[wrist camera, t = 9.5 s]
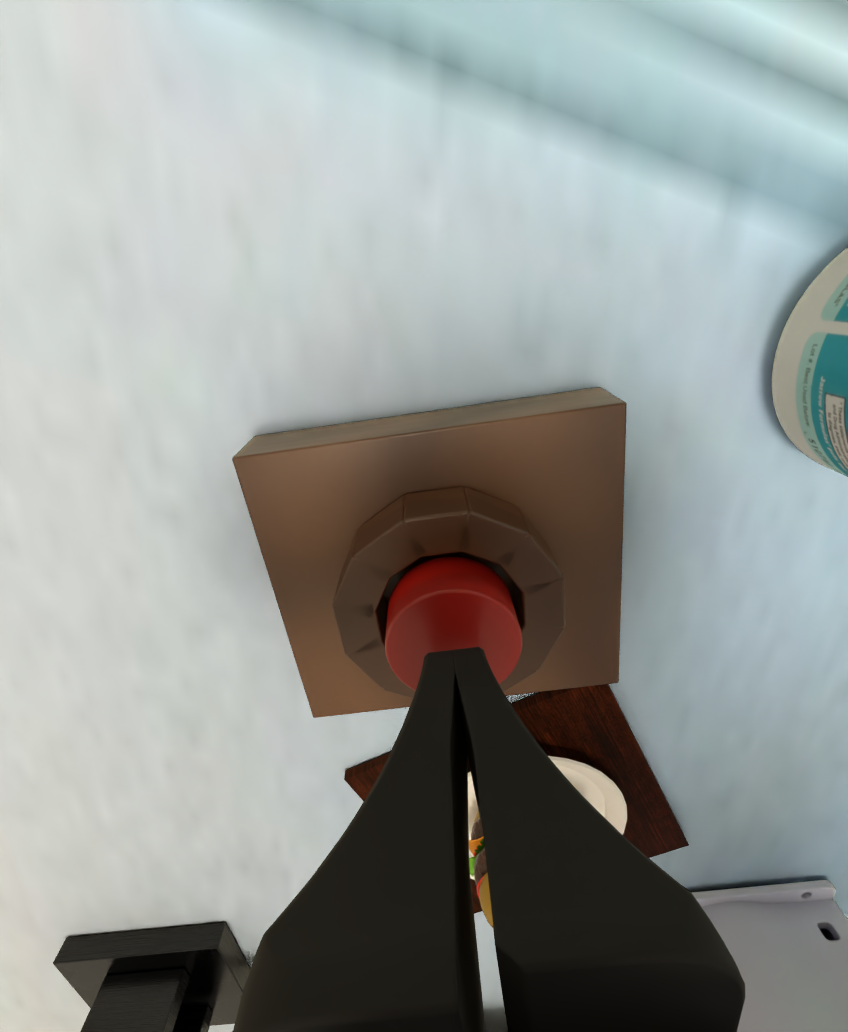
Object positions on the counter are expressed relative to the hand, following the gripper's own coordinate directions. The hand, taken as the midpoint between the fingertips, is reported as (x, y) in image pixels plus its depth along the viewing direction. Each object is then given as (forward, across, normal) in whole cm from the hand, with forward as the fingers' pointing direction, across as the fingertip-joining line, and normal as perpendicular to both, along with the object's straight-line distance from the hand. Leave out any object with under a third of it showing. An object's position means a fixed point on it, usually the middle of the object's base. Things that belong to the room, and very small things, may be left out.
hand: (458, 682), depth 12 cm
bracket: (+6, +19, +25) cm, 32 cm away
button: (+3, 0, 0) cm, 3 cm away
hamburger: (+7, -2, +14) cm, 16 cm away
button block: (+6, 0, 0) cm, 7 cm away
